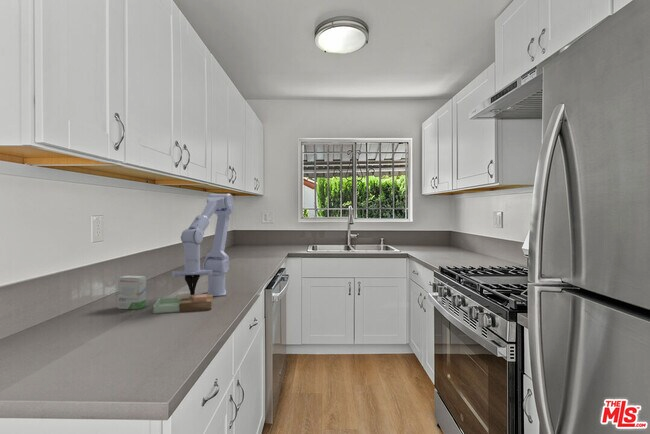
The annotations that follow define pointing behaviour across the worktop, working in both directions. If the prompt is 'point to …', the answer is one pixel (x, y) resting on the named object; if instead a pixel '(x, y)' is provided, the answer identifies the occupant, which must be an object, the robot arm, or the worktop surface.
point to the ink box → (131, 292)
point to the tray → (166, 305)
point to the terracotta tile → (200, 297)
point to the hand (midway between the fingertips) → (192, 294)
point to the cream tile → (183, 295)
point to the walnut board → (196, 304)
